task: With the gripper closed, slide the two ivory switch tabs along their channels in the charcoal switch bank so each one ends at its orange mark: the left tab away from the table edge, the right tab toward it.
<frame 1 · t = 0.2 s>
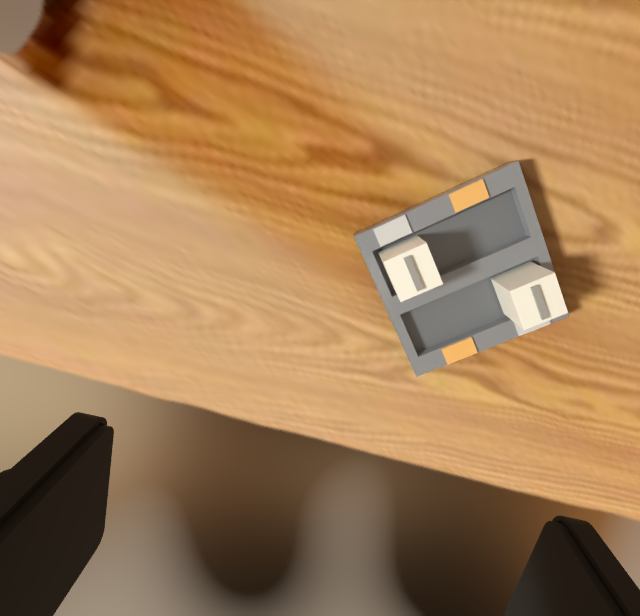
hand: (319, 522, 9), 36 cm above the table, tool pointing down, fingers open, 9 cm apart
switch bank: (457, 272, 44), on the table
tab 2: (409, 267, 40), point 4 cm above the table, slide at 0.0 cm
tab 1: (527, 295, 41), point 4 cm above the table, slide at 0.0 cm
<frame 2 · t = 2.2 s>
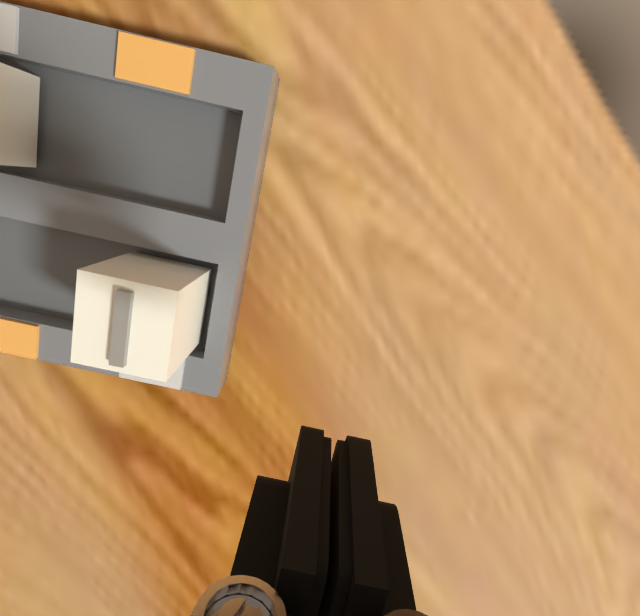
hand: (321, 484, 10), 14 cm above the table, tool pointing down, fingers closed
switch bank: (99, 209, 23), on the table
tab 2: (146, 311, 20), point 4 cm above the table, slide at 0.0 cm
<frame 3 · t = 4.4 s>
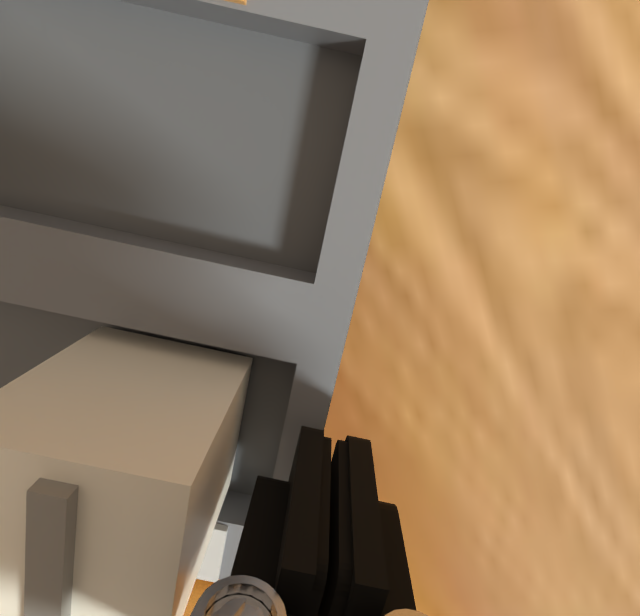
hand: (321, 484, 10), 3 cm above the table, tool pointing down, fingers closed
switch bank: (64, 247, 12), on the table
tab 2: (123, 470, 9), point 4 cm above the table, slide at 0.7 cm, touching gripper
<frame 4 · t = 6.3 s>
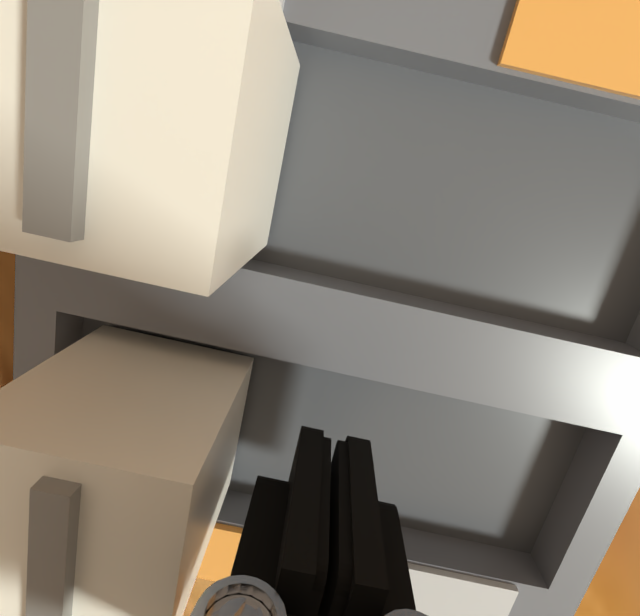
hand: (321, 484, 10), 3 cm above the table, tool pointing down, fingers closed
switch bank: (351, 309, 12), on the table
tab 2: (124, 469, 9), point 4 cm above the table, slide at 8.8 cm, touching gripper
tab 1: (149, 126, 7), point 4 cm above the table, slide at 0.0 cm
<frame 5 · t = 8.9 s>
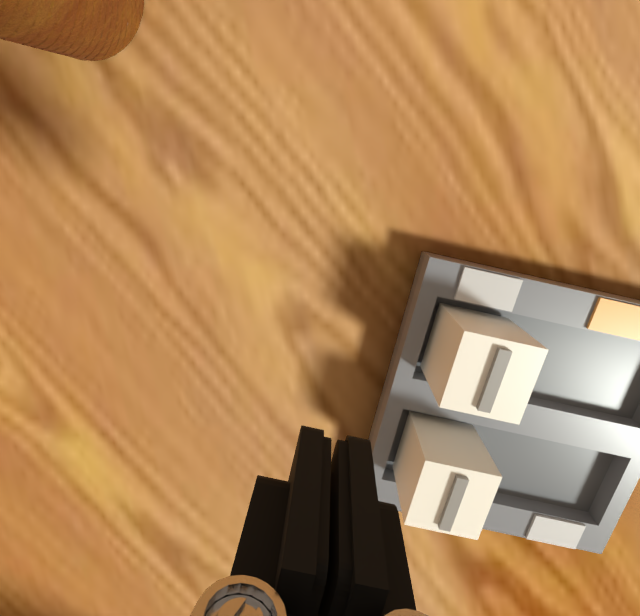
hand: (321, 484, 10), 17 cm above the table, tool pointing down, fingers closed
switch bank: (509, 401, 28), on the table
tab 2: (441, 472, 25), point 4 cm above the table, slide at 8.8 cm
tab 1: (477, 360, 23), point 4 cm above the table, slide at 0.0 cm
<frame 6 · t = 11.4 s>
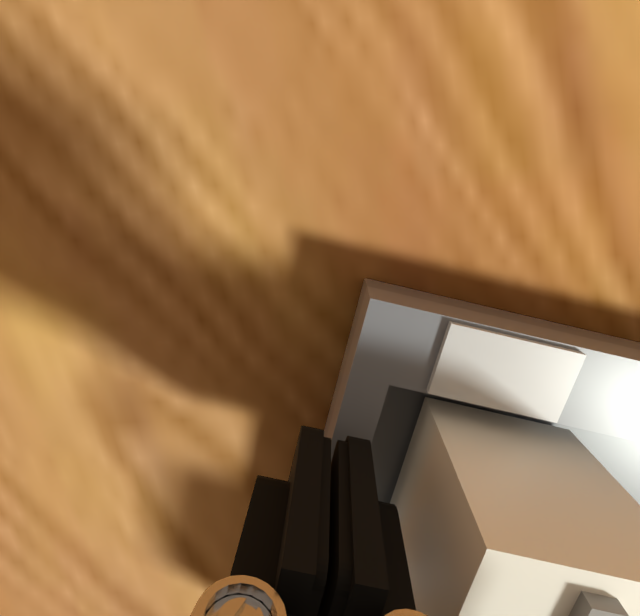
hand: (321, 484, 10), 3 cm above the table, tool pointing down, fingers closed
switch bank: (536, 560, 15), on the table
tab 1: (509, 552, 10), point 4 cm above the table, slide at 0.7 cm, touching gripper
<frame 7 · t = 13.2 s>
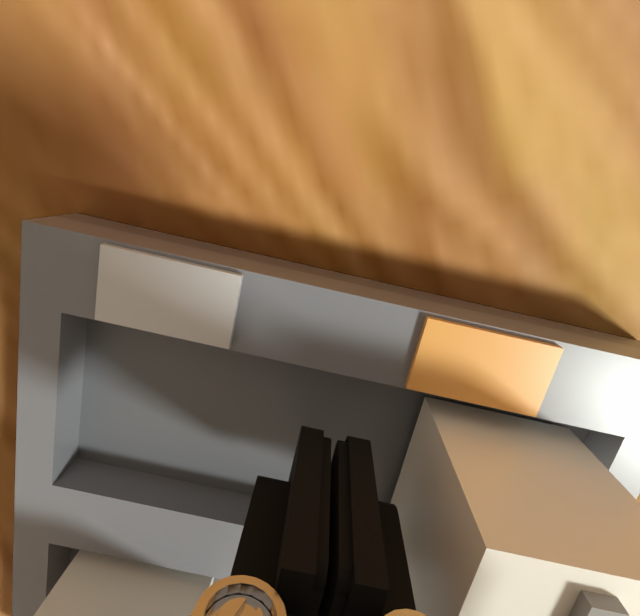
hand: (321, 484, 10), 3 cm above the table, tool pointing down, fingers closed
switch bank: (303, 509, 14), on the table
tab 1: (509, 551, 10), point 4 cm above the table, slide at 8.8 cm, touching gripper
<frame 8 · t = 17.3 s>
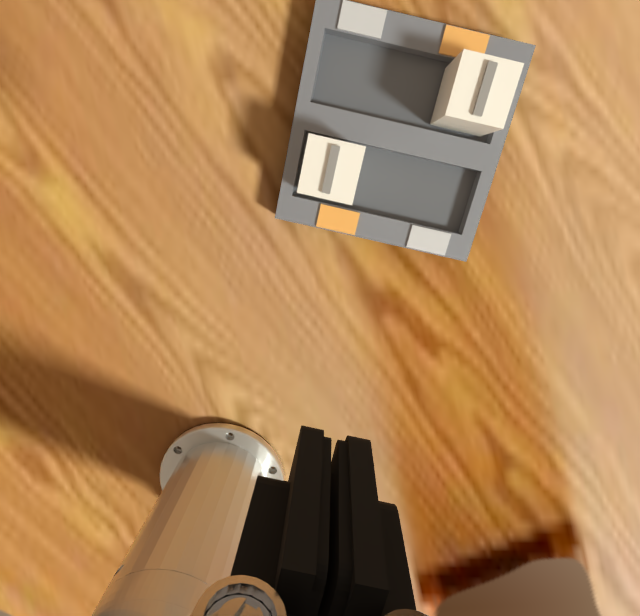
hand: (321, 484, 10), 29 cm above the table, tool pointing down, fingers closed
switch bank: (393, 139, 35), on the table
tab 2: (331, 170, 32), point 4 cm above the table, slide at 8.8 cm
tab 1: (473, 96, 31), point 4 cm above the table, slide at 8.8 cm
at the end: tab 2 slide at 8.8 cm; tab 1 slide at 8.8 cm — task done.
